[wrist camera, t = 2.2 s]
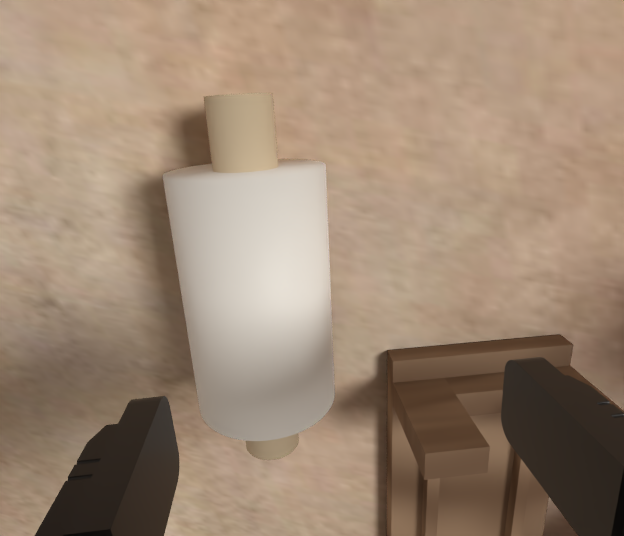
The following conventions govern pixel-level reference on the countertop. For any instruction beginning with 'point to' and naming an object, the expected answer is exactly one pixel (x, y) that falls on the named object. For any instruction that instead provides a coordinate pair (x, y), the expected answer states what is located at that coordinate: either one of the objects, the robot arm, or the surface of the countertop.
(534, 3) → the countertop surface
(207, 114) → the roll
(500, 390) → the holder
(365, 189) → the countertop surface
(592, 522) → the robot arm
